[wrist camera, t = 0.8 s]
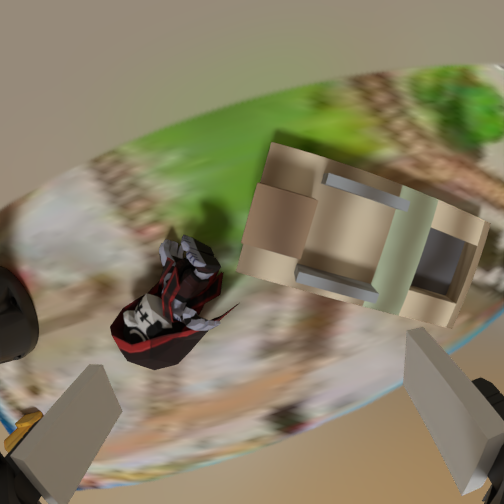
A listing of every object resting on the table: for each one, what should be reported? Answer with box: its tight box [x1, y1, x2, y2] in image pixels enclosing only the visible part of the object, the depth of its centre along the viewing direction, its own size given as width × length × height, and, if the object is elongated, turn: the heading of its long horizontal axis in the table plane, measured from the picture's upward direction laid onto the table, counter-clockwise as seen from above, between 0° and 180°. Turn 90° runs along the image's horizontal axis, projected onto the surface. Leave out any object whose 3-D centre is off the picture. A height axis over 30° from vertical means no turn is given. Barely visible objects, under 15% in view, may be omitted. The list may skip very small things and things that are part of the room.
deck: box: [236, 142, 490, 329], centre depth 30 cm, size 26×13×6 cm, turn 75°
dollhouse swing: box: [4, 411, 43, 453], centre depth 41 cm, size 10×10×9 cm
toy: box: [110, 235, 239, 370], centre depth 32 cm, size 12×9×15 cm
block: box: [241, 182, 318, 260], centre depth 28 cm, size 5×5×5 cm
